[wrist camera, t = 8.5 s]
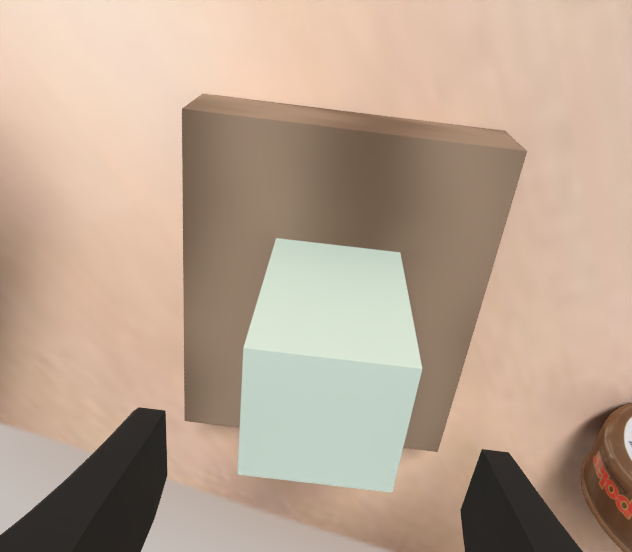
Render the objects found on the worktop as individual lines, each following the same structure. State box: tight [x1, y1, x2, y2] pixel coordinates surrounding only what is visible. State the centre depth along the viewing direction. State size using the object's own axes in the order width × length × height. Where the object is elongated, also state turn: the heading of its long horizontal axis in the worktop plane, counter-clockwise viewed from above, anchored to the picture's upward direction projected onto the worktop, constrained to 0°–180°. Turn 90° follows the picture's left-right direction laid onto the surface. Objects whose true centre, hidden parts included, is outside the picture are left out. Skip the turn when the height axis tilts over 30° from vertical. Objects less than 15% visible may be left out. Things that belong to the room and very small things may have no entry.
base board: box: [182, 94, 527, 452], centre depth 19 cm, size 10×12×2 cm
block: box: [238, 238, 422, 493], centre depth 16 cm, size 4×4×6 cm
